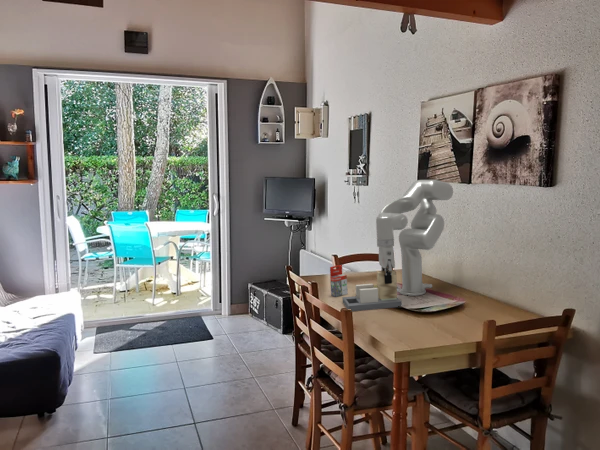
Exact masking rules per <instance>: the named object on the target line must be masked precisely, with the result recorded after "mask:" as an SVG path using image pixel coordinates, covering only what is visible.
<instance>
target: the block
mask: <svg viewBox="0 0 600 450" xmlns="http://www.w3.org/2000/svg"><path fill="white" fill-rule="evenodd" d="M384 275H385V271H381V270H379V271H376V284H377V285H376V288H378V298H379V299H388V298H398V285H397V283H398V282H397V271H396V270H395V269H392V283H391V284H385V277H384Z"/></svg>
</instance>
